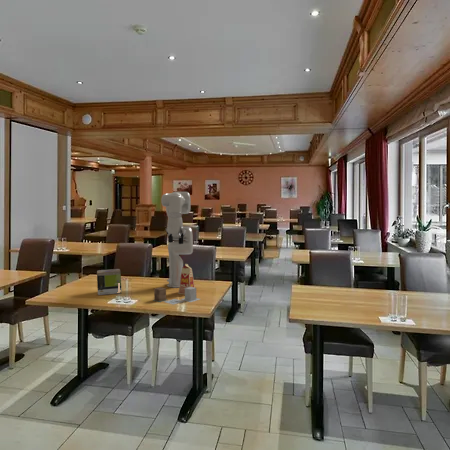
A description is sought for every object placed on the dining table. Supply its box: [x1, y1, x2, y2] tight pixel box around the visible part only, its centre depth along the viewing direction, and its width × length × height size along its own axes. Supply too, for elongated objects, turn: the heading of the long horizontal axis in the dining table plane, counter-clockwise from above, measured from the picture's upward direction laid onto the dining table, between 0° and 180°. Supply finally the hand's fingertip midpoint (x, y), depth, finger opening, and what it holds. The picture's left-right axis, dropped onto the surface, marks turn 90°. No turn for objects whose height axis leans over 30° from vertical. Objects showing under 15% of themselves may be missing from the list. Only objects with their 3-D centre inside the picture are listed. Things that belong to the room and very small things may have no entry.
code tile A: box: [164, 298, 185, 306], centre depth 240 cm, size 9×9×1 cm
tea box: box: [96, 268, 122, 296], centre depth 263 cm, size 15×10×15 cm
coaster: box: [152, 298, 168, 303], centre depth 243 cm, size 7×7×1 cm
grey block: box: [184, 286, 197, 301], centre depth 244 cm, size 5×5×7 cm
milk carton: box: [177, 263, 196, 295], centre depth 261 cm, size 9×9×20 cm
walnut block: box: [153, 287, 167, 302], centre depth 243 cm, size 5×5×7 cm
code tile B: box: [180, 297, 201, 303], centre depth 245 cm, size 9×9×1 cm
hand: (175, 243), depth 246 cm, fingers open, 9 cm apart
